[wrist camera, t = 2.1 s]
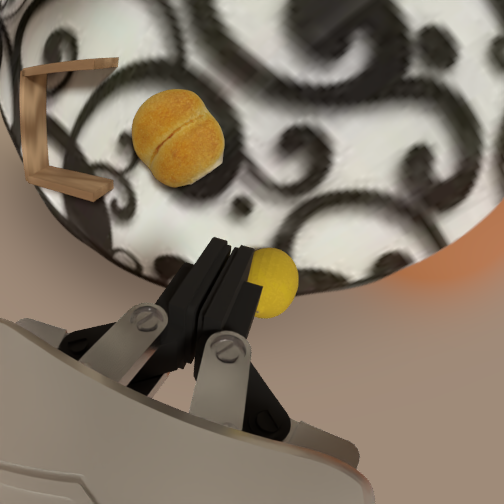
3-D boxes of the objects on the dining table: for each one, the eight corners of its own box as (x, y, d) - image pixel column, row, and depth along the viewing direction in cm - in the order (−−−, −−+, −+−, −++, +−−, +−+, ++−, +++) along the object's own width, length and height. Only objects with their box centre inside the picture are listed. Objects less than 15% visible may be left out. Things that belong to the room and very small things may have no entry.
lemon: (313, 258, 29) (306, 315, 23) (277, 287, 32) (261, 343, 26) (271, 222, 28) (251, 273, 22) (237, 255, 31) (211, 308, 25)
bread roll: (184, 72, 22) (161, 73, 19) (242, 149, 25) (228, 162, 22) (127, 126, 26) (102, 136, 23) (178, 194, 29) (159, 211, 26)
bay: (43, 64, 23) (20, 69, 20) (118, 57, 22) (94, 58, 19) (45, 171, 31) (26, 182, 28) (113, 188, 30) (93, 201, 27)
